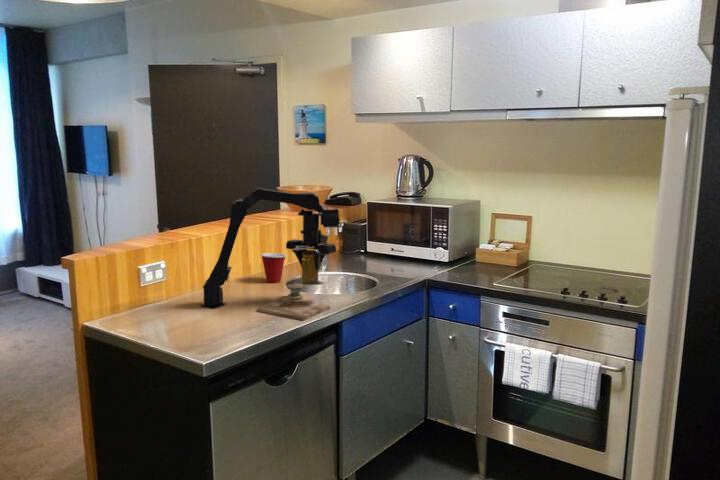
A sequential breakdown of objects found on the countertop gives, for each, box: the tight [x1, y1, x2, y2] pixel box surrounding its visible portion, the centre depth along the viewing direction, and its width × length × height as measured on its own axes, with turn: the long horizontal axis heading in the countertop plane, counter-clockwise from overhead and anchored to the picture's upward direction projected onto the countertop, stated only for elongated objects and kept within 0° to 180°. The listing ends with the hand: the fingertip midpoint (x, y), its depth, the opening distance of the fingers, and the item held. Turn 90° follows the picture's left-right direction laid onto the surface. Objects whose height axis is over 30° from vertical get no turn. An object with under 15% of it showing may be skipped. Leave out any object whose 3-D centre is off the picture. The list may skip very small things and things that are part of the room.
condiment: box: [300, 249, 325, 286], centre depth 213 cm, size 7×8×12 cm
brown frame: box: [256, 297, 330, 321], centre depth 207 cm, size 16×20×1 cm
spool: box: [286, 282, 304, 301], centre depth 222 cm, size 6×6×5 cm
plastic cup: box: [260, 252, 287, 284], centre depth 246 cm, size 11×11×12 cm
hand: (310, 269), depth 214 cm, fingers closed on condiment, 6 cm apart
